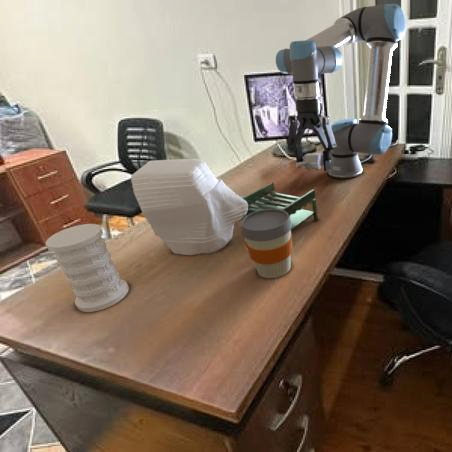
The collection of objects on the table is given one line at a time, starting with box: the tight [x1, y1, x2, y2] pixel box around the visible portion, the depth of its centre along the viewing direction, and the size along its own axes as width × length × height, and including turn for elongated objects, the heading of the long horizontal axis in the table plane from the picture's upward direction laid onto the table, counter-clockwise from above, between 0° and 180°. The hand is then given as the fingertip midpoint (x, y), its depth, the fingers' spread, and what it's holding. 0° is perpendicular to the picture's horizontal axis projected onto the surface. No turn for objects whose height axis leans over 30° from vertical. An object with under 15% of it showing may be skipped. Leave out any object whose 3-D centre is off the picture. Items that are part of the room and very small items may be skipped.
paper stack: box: [130, 158, 248, 256], centre depth 101 cm, size 21×27×26 cm
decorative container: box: [45, 223, 130, 313], centre depth 84 cm, size 12×12×18 cm
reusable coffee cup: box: [240, 209, 293, 279], centre depth 91 cm, size 13×13×15 cm
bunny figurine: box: [294, 152, 324, 171], centre depth 116 cm, size 10×5×15 cm
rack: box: [242, 181, 319, 232], centre depth 114 cm, size 16×18×11 cm
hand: (313, 168), depth 116 cm, fingers closed on bunny figurine, 10 cm apart
